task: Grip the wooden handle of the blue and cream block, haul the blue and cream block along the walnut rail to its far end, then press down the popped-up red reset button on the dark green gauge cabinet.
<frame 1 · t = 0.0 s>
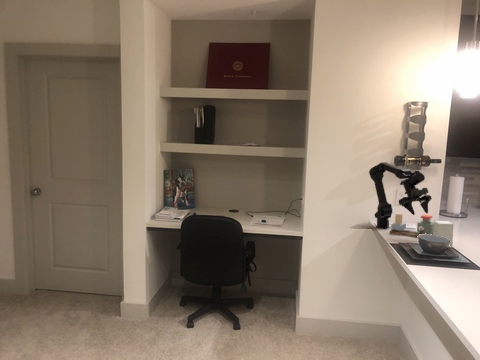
hand: (420, 213, 206), 15 cm above the counter, tool tilted 35°, fingers open, 9 cm apart
rail bed: (406, 234, 219), on the counter
blue and cream block: (398, 221, 222), point 7 cm above the counter, slide at 0.0 cm
supplement box: (442, 245, 197), on the counter
gauge cabinet: (426, 232, 223), on the counter
reset button: (426, 220, 222), point 7 cm above the counter, slide at 0.0 cm
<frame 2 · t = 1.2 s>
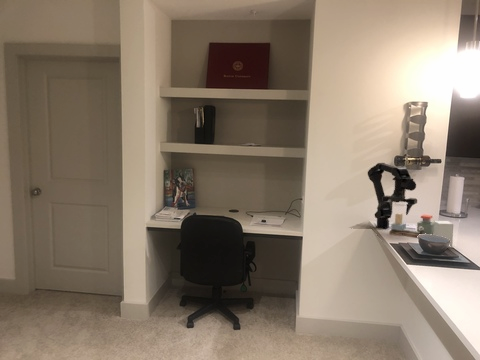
hand: (398, 213, 221), 12 cm above the counter, tool pointing down, fingers open, 9 cm apart
nothing on the counter moved.
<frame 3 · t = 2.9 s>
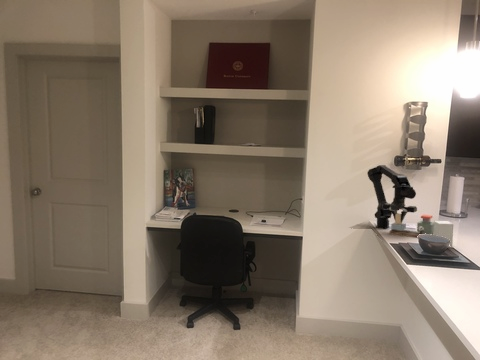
hand: (398, 221, 222), 7 cm above the counter, tool pointing down, fingers closed on blue and cream block, 3 cm apart
blue and cream block: (398, 221, 222), point 7 cm above the counter, slide at 0.0 cm, touching gripper
everything else where it was.
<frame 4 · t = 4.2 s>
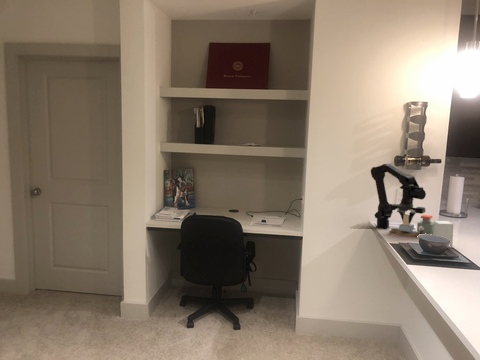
hand: (406, 222, 219), 7 cm above the counter, tool pointing down, fingers closed on blue and cream block, 3 cm apart
blue and cream block: (406, 222, 219), point 7 cm above the counter, slide at 4.6 cm, touching gripper
everything else where it was.
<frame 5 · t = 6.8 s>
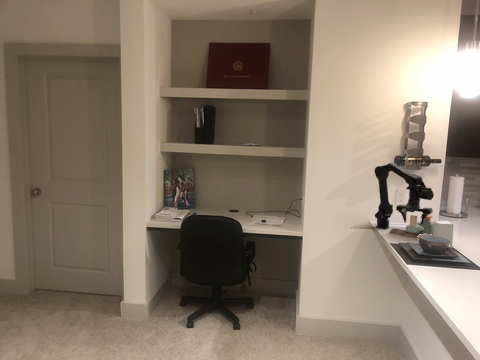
hand: (413, 223, 216), 7 cm above the counter, tool pointing down, fingers open, 9 cm apart
blue and cream block: (413, 223, 216), point 7 cm above the counter, slide at 8.4 cm
everything else where it was.
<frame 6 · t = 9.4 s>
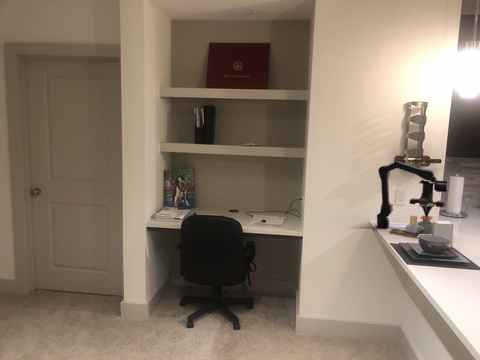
hand: (426, 216, 222), 10 cm above the counter, tool pointing down, fingers closed, pressing on reset button
reset button: (426, 221, 222), point 7 cm above the counter, slide at 0.5 cm, touching gripper
everything else where it was.
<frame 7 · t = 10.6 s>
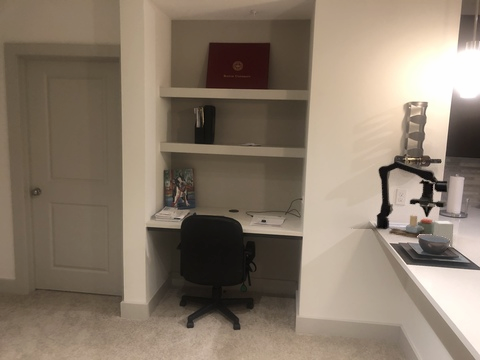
hand: (426, 216, 222), 10 cm above the counter, tool pointing down, fingers closed
reset button: (426, 224, 223), point 5 cm above the counter, slide at 2.5 cm
everything else where it was.
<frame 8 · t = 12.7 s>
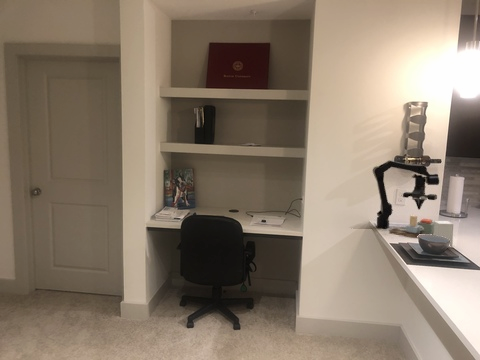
hand: (419, 209, 232), 12 cm above the counter, tool pointing down, fingers closed
nothing on the counter moved.
at the end: blue and cream block slide at 8.4 cm; reset button slide at 2.5 cm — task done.
